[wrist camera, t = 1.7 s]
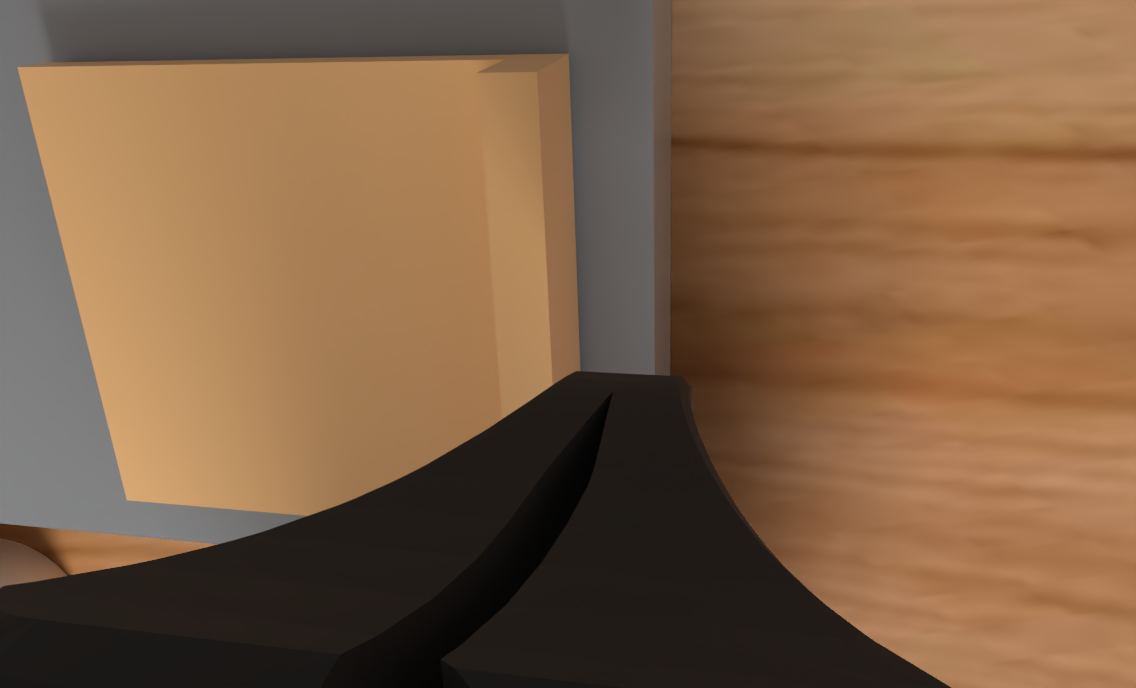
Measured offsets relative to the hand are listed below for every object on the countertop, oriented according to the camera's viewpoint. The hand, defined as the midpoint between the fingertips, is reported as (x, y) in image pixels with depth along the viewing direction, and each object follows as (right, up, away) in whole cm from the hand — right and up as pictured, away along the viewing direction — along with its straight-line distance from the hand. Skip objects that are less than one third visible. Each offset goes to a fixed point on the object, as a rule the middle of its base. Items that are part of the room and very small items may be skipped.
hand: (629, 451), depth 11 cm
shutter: (-5, +2, +5) cm, 7 cm away
